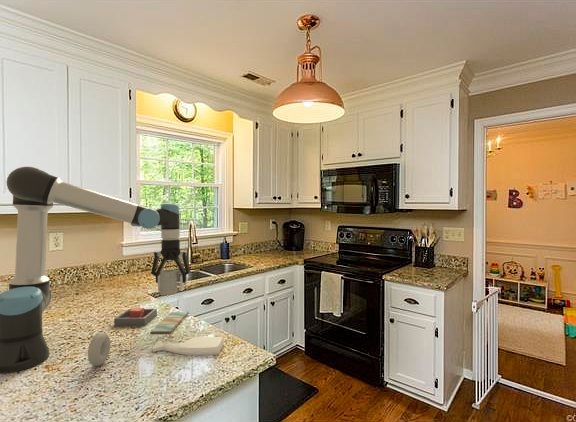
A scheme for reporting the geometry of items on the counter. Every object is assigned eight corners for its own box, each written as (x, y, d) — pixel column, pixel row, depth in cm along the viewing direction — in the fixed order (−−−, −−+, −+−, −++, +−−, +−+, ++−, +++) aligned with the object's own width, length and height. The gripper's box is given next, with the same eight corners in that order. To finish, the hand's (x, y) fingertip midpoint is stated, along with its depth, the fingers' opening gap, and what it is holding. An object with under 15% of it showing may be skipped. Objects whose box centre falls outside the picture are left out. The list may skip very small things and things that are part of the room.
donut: (102, 357, 108) (101, 328, 108) (112, 357, 109) (112, 327, 108) (85, 372, 98) (85, 340, 98) (97, 372, 99) (96, 340, 98)
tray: (144, 325, 137) (144, 318, 137) (114, 325, 137) (114, 318, 137) (156, 315, 150) (156, 308, 150) (129, 315, 150) (128, 308, 150)
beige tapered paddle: (218, 357, 109) (147, 357, 110) (225, 343, 120) (160, 343, 121) (217, 348, 109) (146, 348, 110) (225, 335, 120) (160, 335, 121)
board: (171, 333, 129) (171, 331, 129) (150, 333, 129) (150, 331, 129) (188, 313, 153) (188, 311, 153) (171, 313, 153) (171, 311, 153)
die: (139, 321, 141) (139, 310, 140) (129, 321, 141) (129, 310, 141) (145, 317, 145) (144, 307, 145) (134, 317, 145) (134, 307, 145)
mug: (156, 293, 140) (156, 265, 139) (182, 288, 147) (182, 262, 147) (162, 296, 134) (162, 268, 134) (189, 291, 141) (189, 264, 141)
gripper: (197, 237, 144) (198, 287, 144) (149, 238, 144) (149, 288, 144) (193, 239, 136) (193, 292, 137) (141, 239, 136) (142, 292, 137)
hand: (171, 290), depth 140 cm, fingers closed on mug, 9 cm apart
